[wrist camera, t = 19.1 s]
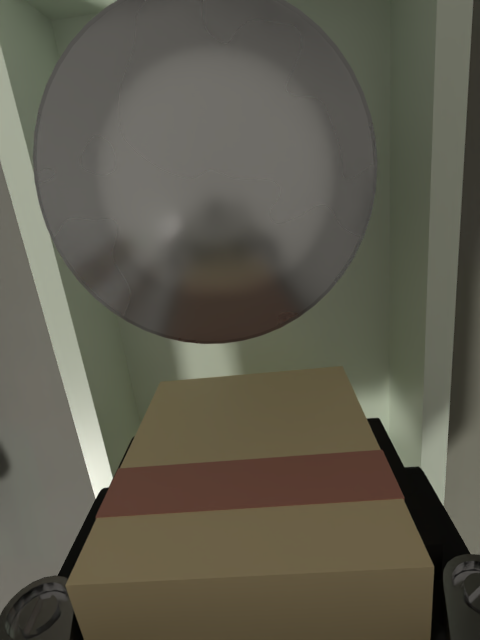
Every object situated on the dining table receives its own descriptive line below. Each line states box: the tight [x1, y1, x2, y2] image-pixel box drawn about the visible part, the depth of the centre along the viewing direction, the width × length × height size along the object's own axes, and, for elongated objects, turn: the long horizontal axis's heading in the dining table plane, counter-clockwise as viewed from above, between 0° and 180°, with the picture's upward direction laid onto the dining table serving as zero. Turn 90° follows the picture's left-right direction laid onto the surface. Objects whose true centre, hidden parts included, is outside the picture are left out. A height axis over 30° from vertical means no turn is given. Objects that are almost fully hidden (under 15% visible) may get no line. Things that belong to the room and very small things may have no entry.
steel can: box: [33, 0, 378, 344], centre depth 9 cm, size 5×5×7 cm
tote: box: [0, 0, 473, 506], centre depth 12 cm, size 10×18×4 cm, turn 6°
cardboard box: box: [65, 366, 434, 640], centre depth 9 cm, size 5×5×6 cm
